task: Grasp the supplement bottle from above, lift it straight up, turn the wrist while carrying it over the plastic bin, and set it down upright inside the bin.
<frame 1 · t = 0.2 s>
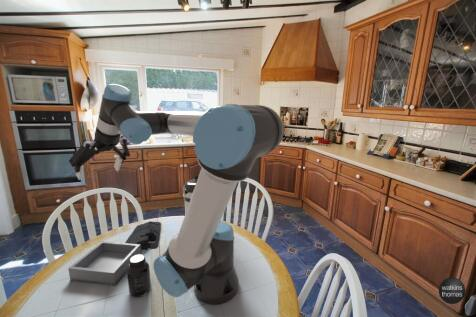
hand: (98, 172, 89), 35 cm above the table, tool tilted 35°, fingers open, 13 cm apart
supplement bottle: (140, 290, 79), on the table
coffee press: (200, 234, 113), on the table
bin: (108, 267, 90), on the table
dark slate chunk: (145, 238, 111), on the table
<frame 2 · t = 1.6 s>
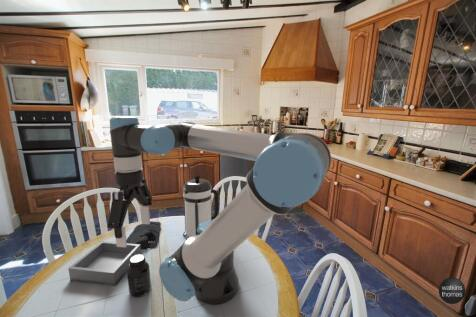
hand: (135, 234, 74), 21 cm above the table, tool pointing down, fingers open, 13 cm apart
nothing on the table moved.
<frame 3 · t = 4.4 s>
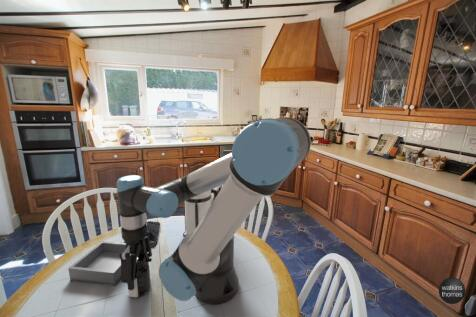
hand: (140, 287, 79), 1 cm above the table, tool pointing down, fingers closed on supplement bottle, 7 cm apart
supplement bottle: (140, 290, 79), on the table, touching gripper
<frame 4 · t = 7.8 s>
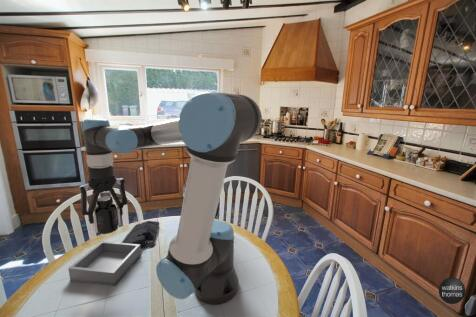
hand: (107, 227, 84), 18 cm above the table, tool pointing down, fingers closed on supplement bottle, 7 cm apart
supplement bottle: (107, 230, 84), point 16 cm above the table, touching gripper
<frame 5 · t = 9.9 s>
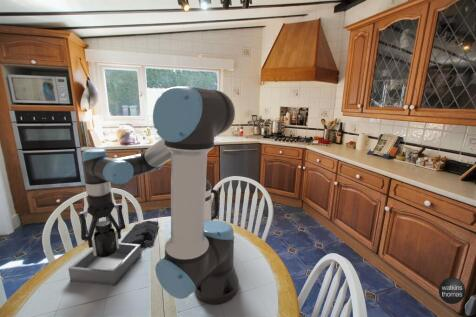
hand: (106, 250, 88), 7 cm above the table, tool pointing down, fingers closed on supplement bottle, 7 cm apart
supplement bottle: (106, 253, 88), point 6 cm above the table, touching gripper
when the fingers open (4 cm above the table, at t = 11.3 s): supplement bottle drops 2 cm, resting on bin.
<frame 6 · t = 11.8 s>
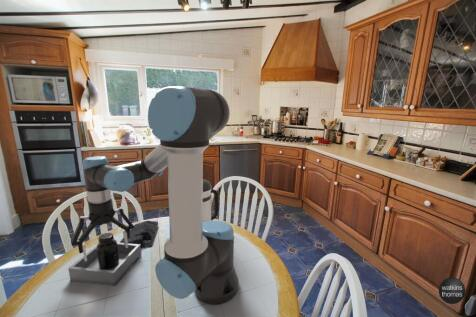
hand: (106, 252, 88), 6 cm above the table, tool pointing down, fingers open, 13 cm apart
supplement bottle: (109, 264, 90), point 1 cm above the table, touching bin
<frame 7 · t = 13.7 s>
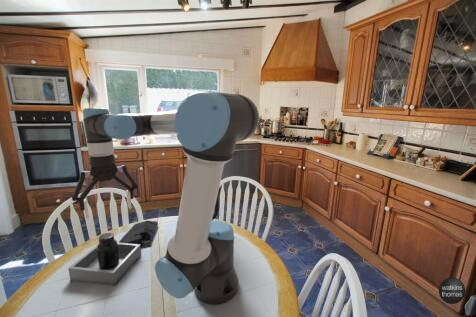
hand: (109, 212, 84), 23 cm above the table, tool pointing down, fingers open, 13 cm apart
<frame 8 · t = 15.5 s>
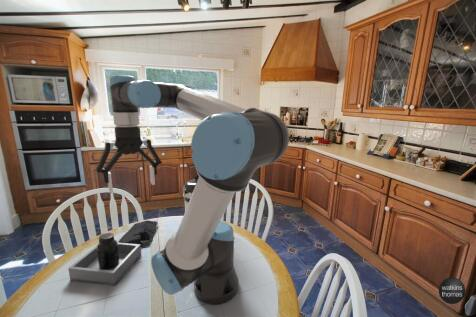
hand: (132, 187, 81), 33 cm above the table, tool pointing down, fingers open, 13 cm apart
at the end: supplement bottle inside the target area on the bin (0.4 cm from its centre), point 0.8 cm above the bin's base; supplement bottle tilted 0°; the gripper is holding nothing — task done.
